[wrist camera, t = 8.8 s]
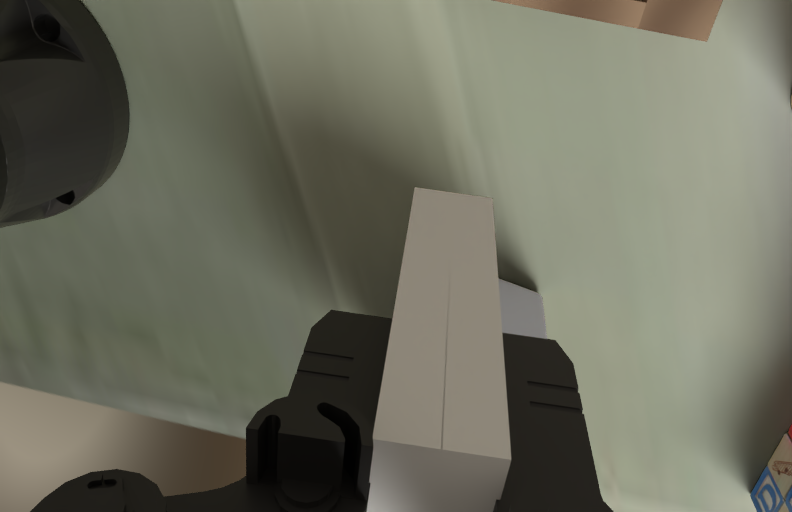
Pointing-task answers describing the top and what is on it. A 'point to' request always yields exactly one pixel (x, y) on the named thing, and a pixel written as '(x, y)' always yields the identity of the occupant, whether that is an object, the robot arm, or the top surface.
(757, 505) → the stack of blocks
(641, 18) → the brown flat block
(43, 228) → the top surface
